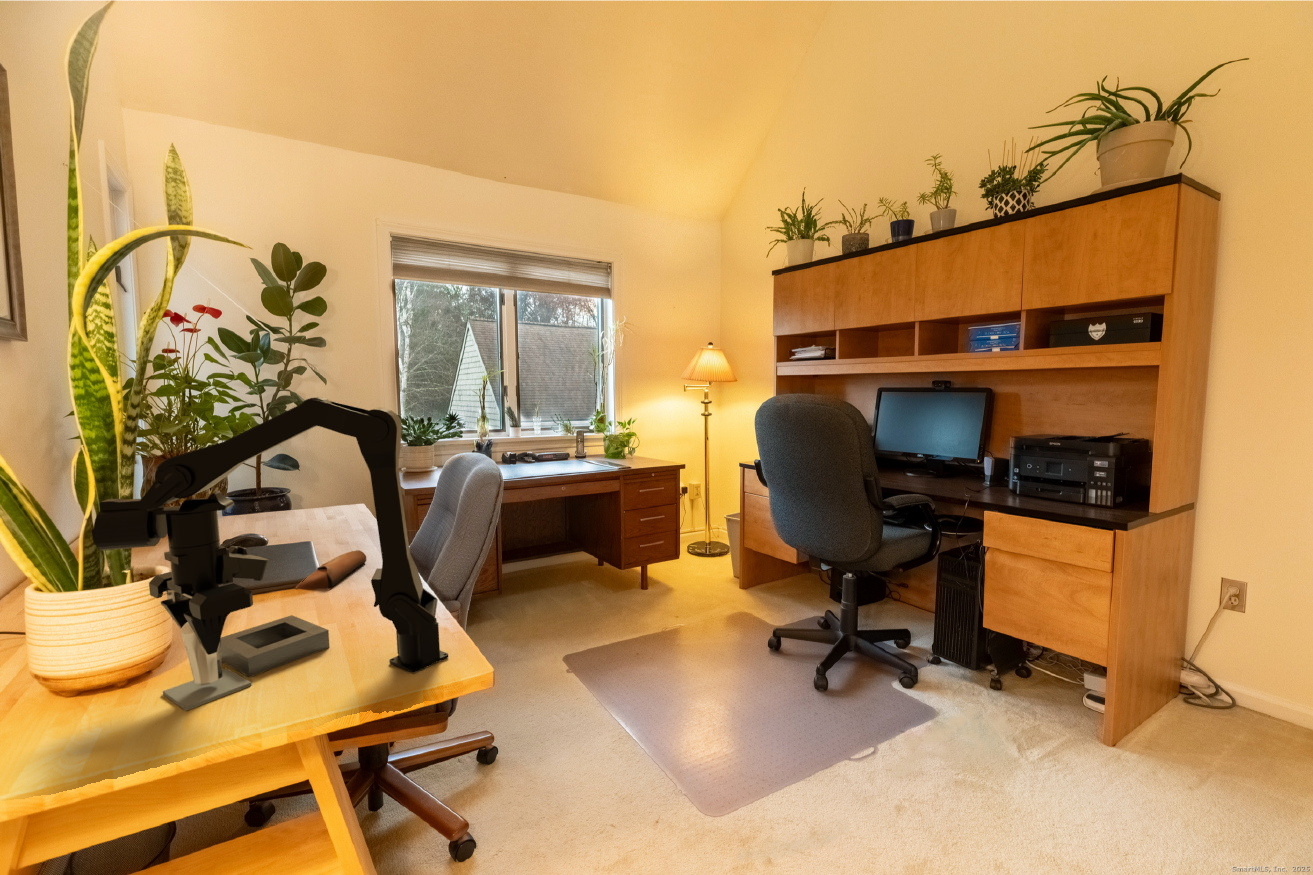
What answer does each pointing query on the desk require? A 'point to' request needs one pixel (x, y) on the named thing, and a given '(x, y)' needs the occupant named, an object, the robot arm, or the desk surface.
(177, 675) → the desk surface
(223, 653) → the collar
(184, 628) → the milkshake
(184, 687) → the pad
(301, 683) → the desk surface
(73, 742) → the desk surface
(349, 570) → the sunglasses case
